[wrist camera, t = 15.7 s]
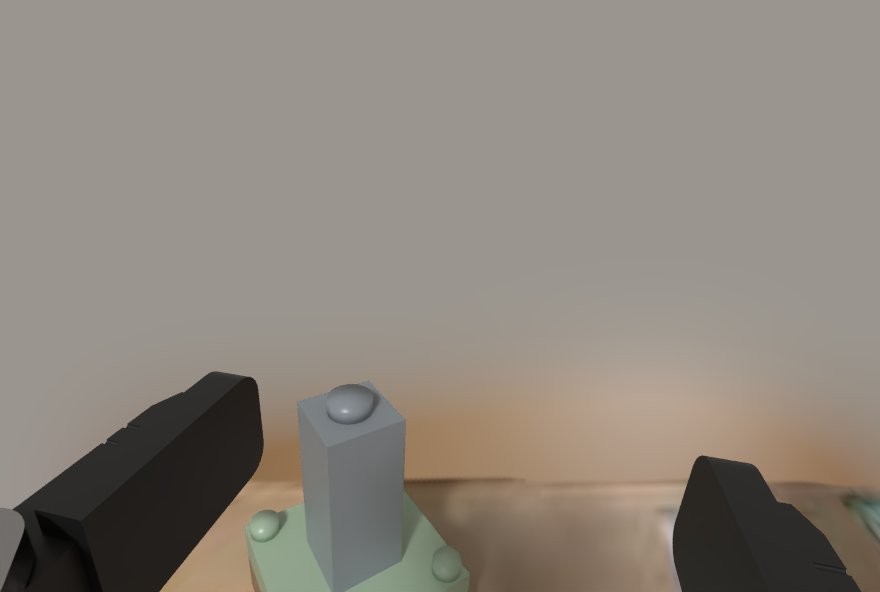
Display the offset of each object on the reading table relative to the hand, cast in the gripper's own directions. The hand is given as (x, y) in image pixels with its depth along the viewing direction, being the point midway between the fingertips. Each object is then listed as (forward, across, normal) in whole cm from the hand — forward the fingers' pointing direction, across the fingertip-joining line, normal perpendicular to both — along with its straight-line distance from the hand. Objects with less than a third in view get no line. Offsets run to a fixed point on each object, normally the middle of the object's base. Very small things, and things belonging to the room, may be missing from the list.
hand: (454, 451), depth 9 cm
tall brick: (+16, +9, +24) cm, 30 cm away
